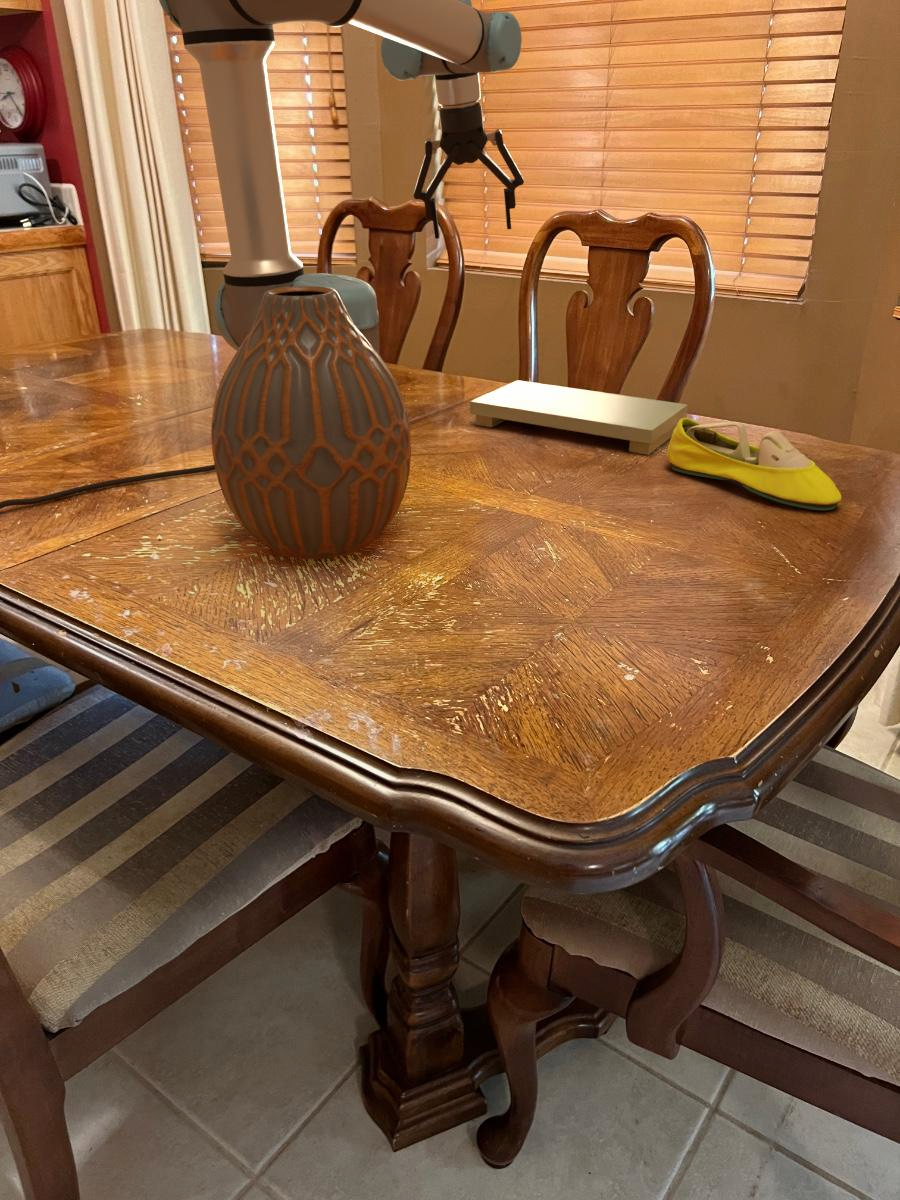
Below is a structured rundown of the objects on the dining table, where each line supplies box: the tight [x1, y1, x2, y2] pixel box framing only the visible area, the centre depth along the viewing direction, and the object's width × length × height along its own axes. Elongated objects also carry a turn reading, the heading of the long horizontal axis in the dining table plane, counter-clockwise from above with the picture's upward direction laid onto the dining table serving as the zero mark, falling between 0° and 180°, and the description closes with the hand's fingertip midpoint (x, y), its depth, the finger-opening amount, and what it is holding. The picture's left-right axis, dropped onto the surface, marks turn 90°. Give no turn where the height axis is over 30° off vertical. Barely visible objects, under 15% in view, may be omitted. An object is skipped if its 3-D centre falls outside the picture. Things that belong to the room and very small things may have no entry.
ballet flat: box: [666, 417, 842, 512], centre depth 111 cm, size 8×24×8 cm, turn 42°
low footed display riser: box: [469, 379, 689, 456], centre depth 135 cm, size 16×30×4 cm, turn 58°
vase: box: [210, 286, 412, 561], centre depth 92 cm, size 21×21×27 cm
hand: (473, 232), depth 162 cm, fingers open, 13 cm apart
